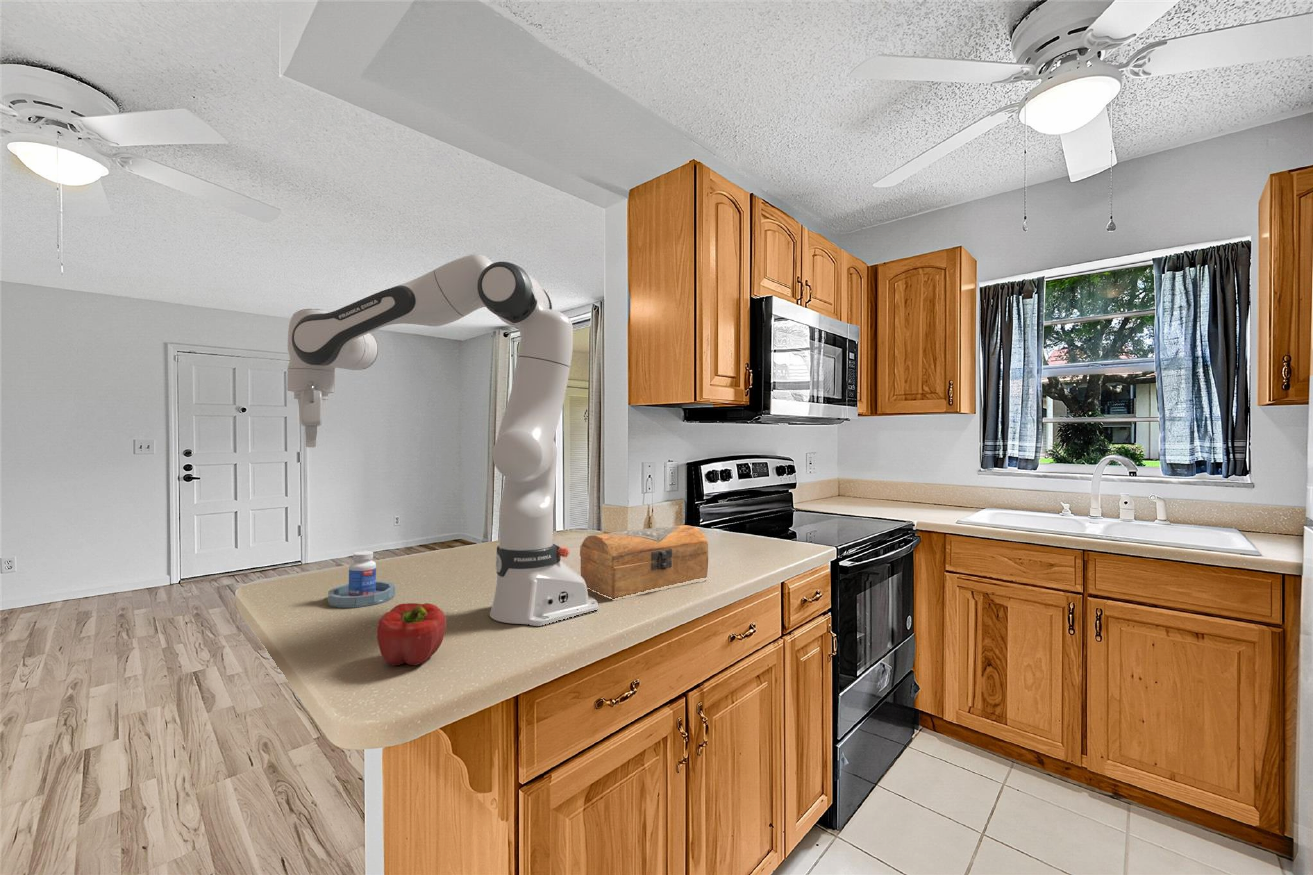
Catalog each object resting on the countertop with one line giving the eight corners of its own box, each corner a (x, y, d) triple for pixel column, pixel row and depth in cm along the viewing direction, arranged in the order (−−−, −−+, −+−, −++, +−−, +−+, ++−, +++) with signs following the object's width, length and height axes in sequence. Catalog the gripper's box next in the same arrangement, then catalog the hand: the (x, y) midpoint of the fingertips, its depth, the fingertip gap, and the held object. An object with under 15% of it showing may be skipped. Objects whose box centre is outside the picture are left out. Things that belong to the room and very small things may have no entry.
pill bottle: (363, 600, 119) (364, 556, 119) (342, 598, 120) (343, 554, 120) (381, 593, 124) (381, 550, 124) (360, 591, 125) (361, 549, 125)
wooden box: (613, 603, 122) (614, 541, 122) (578, 586, 135) (579, 530, 135) (712, 583, 140) (713, 529, 140) (672, 569, 153) (673, 520, 153)
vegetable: (456, 664, 88) (457, 602, 88) (388, 682, 82) (389, 616, 82) (432, 644, 97) (433, 588, 97) (369, 659, 90) (369, 599, 90)
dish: (390, 587, 131) (390, 578, 131) (397, 601, 120) (398, 591, 120) (327, 595, 124) (327, 586, 124) (329, 611, 113) (329, 601, 113)
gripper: (330, 381, 113) (329, 448, 113) (326, 387, 130) (325, 445, 130) (293, 379, 109) (292, 448, 109) (294, 386, 127) (294, 445, 127)
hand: (310, 446), depth 120 cm, fingers open, 8 cm apart
